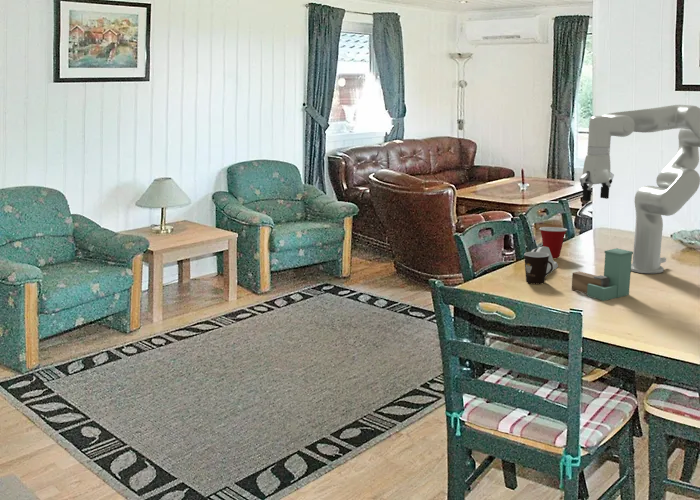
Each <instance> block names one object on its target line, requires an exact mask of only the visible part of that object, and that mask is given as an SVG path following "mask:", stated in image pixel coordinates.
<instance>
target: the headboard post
mask: <svg viewBox="0 0 700 500" xmlns="http://www.w3.org/2000/svg"><path fill="white" fill-rule="evenodd" d="M604 254H605V255H604V267H603V269H604V270H603V276H606V277H608V279H609V287H601V286H597V285H594V284H588V286H587V293H586V296H587V297H591V298H594V299H598V300H600V301H603V302H605V301H608V300H612V299H617V298H621V297H626V296H629V295H630V285H631V273H632V271H631V264H632V262H633V251H631V250H627V249H622V248H617V247H616V248H612V249H607V250H604Z"/></svg>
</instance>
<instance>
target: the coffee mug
mask: <svg viewBox="0 0 700 500" xmlns="http://www.w3.org/2000/svg"><path fill="white" fill-rule="evenodd" d="M523 256H524V257H523V258H524V270H525V271H524V272H525V281H526V283H527V282H528V284H530V283H532V285H541V284H542V283H543V284H545V283H546V277H547V276H546V275H548V274H549V273H550V272H551V271H552V270H553V265H552V263H551V262H550V261H548V259H549V254H547V253H543V252H531V251H528V252H527V251H526V252H525V253H524V254H523ZM548 263H549V264H550V265H551V270H550V271H549V272H548V273H546V271H547V265H548ZM551 273H552V272H551ZM551 273H550V274H551ZM550 274H549V275H550ZM549 275H548V276H549ZM544 282H545V283H544Z"/></svg>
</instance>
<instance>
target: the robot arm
mask: <svg viewBox="0 0 700 500" xmlns="http://www.w3.org/2000/svg"><path fill="white" fill-rule="evenodd" d="M677 129H679V131H678V150H677V153H676V154H675V155H674V156H673V158H672V159H671V160H670V161H669V162H668V163H667V164H666V165H665V166H664V167H663V169H662V170H661V171H660V172H659V173H658V175H657V177H656V178H655V179H656V180H655V181H656V182H655V183H656V185H657V186H654V185H644V186H642V187H640V188H639V189H638V190H637V191H636V192H635V195H634V208H635V209H634V210H635V226H634V241H633V251H632V252H633V254H632V263H631V272H635V273H638V274H639V273H640V274H649V275H653V274H654V275H655V274H661V273H663V272H664V271H665V270H664V267H663V266H661V264H662V263H666V262H667V258H666V257H665V256H664V257H661V253H662V252H661V251H662V239H663V238H662V237H663V229H664V222H663V218H662V216H664V217H665V216H666V217H670V216H673V215H675V214H676V213H678V212H679V211H680V209H682V208H683V206H684V205H686V204H687V202H688V201H689V200H690V199H692V197H694V194H695V193H697V191H698V189H699V187H700V174H699V173H698V171H696V168H697V167H698V165H699V162H700V154H699V151H700V150H699V148H700V107H699V106H697V105H692V104H691V105H690V104H687V105H686V104H672V105H664V106H660V107H653V108H643V109H636V110H635V109H634V110H625V111H617V112H616V111H615V112H610V113H605V114H603V115H592V116H591V117H590V118H589V122H588V138H587V139H588V141H587V152H586V153H587V155H585V157H584V158H585V159H584V163H583V169H582V170H583V171H582V175H581V176H580V177H579V183H580V186H581V189H582V201H585V202H591V201H592V190H591V189H592V187H593V185H599V184H600V185H601V187H600V198H601V199H607V200H608V199H609V198H610V197H609V196H610V188H611V184H612V183H613V179H614V177H615V174H614V173H613V172H611V156H610V153H611V139H612V136H613V137H618V138H620V137H621V138H622V137H623V138H624V137H629V136H630V135H632V133H656V132H657V133H658V132H663V131H668V130H677Z"/></svg>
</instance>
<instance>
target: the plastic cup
mask: <svg viewBox="0 0 700 500" xmlns="http://www.w3.org/2000/svg"><path fill="white" fill-rule="evenodd" d="M539 231H540V236H541V243H542V247H549V249H550V252H551V255H552V258H556V259H559V258H560V256H561V251H562V248H563V243H564V239H565V236H566V233H567V231H568V229H567V228H564V227H558V226H557V227H553V226H552V227H550V226H543V227H539ZM558 257H559V258H558Z"/></svg>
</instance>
